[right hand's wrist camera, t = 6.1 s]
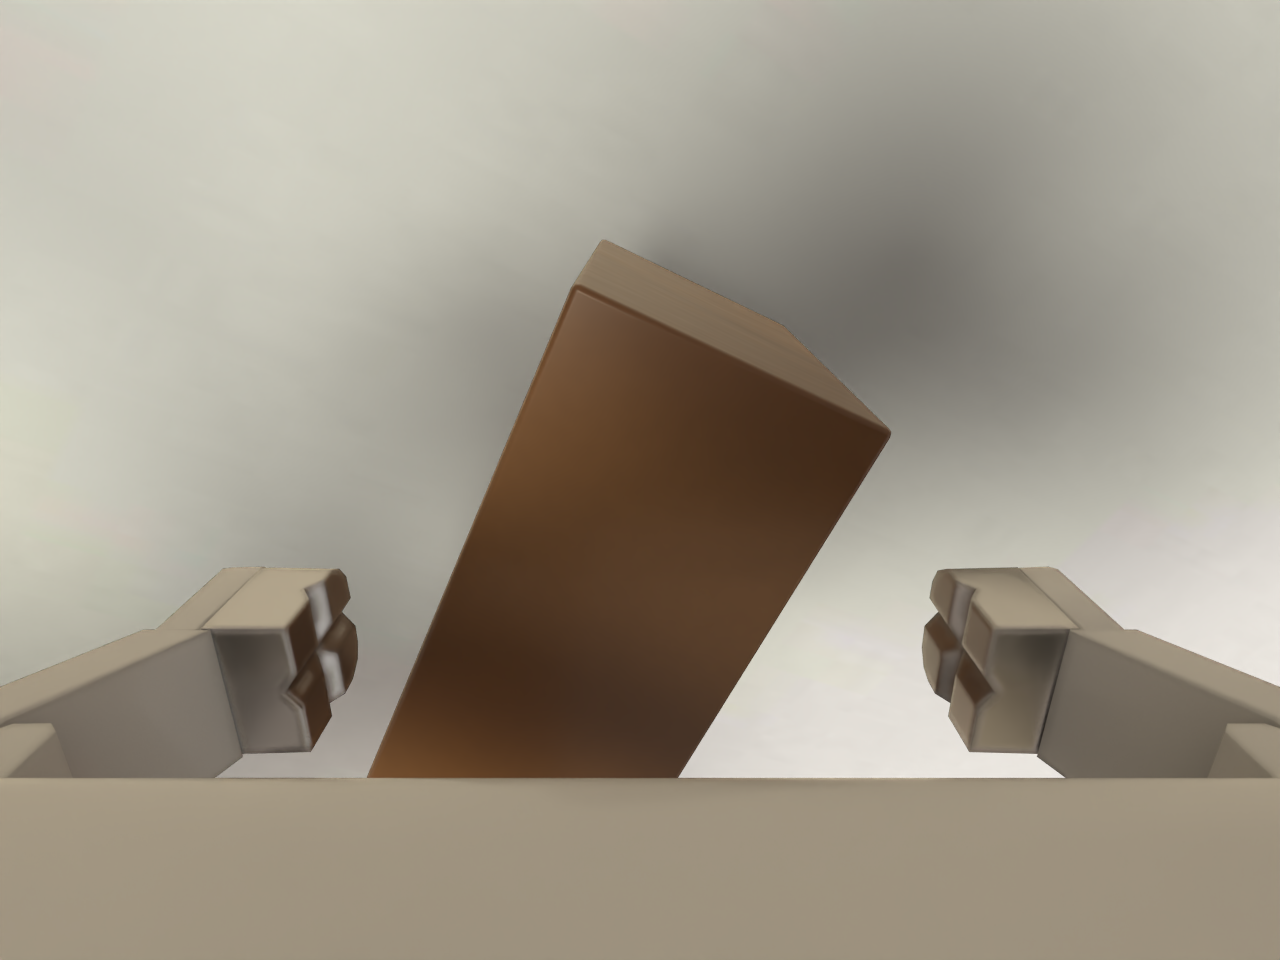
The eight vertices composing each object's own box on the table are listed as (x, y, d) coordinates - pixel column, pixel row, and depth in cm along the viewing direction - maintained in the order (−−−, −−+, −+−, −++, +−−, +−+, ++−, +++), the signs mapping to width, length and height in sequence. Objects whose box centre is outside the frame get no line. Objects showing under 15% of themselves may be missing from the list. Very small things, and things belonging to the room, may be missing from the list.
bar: (602, 237, 17) (573, 281, 9) (785, 326, 17) (895, 433, 10) (326, 890, 24) (190, 1199, 17) (461, 932, 25) (388, 1244, 18)
